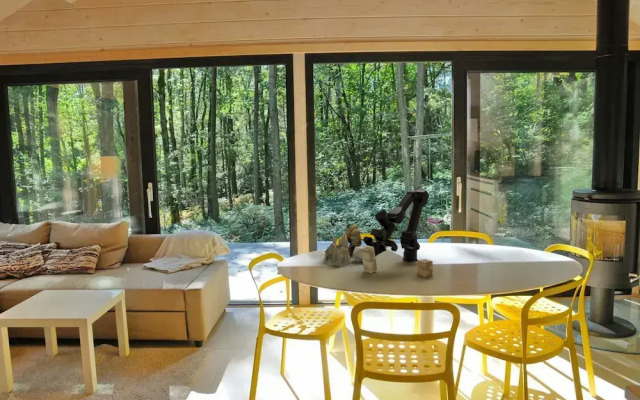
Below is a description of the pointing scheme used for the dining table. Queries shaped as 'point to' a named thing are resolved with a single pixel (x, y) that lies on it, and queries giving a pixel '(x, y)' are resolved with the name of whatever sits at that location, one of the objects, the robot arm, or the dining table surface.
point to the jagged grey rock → (338, 253)
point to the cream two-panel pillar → (369, 259)
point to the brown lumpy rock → (353, 238)
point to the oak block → (424, 267)
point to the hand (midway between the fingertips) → (372, 257)
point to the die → (357, 254)
